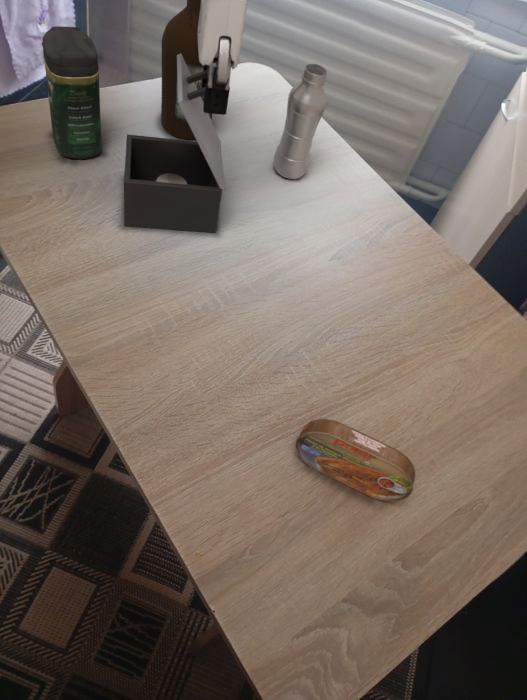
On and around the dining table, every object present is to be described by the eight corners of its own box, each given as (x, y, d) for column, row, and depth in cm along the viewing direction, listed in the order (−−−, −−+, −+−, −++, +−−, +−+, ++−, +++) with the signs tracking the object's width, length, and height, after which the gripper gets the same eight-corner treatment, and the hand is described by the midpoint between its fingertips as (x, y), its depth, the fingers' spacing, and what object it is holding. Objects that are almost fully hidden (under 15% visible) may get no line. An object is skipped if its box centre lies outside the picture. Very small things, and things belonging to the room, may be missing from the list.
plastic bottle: (299, 188, 104) (330, 86, 88) (265, 174, 105) (290, 70, 89) (309, 169, 108) (341, 68, 92) (277, 156, 108) (303, 53, 92)
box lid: (177, 102, 74) (218, 87, 72) (176, 54, 80) (214, 40, 79) (220, 189, 86) (255, 178, 85) (216, 142, 92) (249, 131, 91)
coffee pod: (154, 210, 92) (155, 192, 89) (155, 190, 95) (156, 171, 92) (185, 213, 93) (187, 195, 90) (185, 193, 96) (186, 174, 93)
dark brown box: (124, 226, 90) (124, 182, 83) (127, 178, 97) (127, 134, 90) (215, 233, 93) (222, 191, 86) (211, 186, 100) (218, 143, 93)
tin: (287, 456, 73) (304, 426, 66) (296, 437, 74) (313, 405, 68) (395, 510, 71) (423, 485, 64) (401, 489, 73) (429, 462, 66)
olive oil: (152, 109, 109) (157, -35, 89) (204, 108, 113) (221, -30, 93) (165, 143, 104) (174, -1, 84) (219, 141, 108) (241, 2, 88)
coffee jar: (106, 159, 98) (102, 54, 84) (59, 163, 96) (46, 55, 81) (95, 126, 103) (89, 20, 88) (49, 128, 100) (36, 19, 85)
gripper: (195, -79, 70) (185, 64, 84) (200, -15, 60) (188, 134, 75) (255, -69, 71) (235, 71, 86) (269, -4, 61) (244, 140, 76)
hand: (213, 99), depth 80 cm, fingers closed on box lid, 5 cm apart
